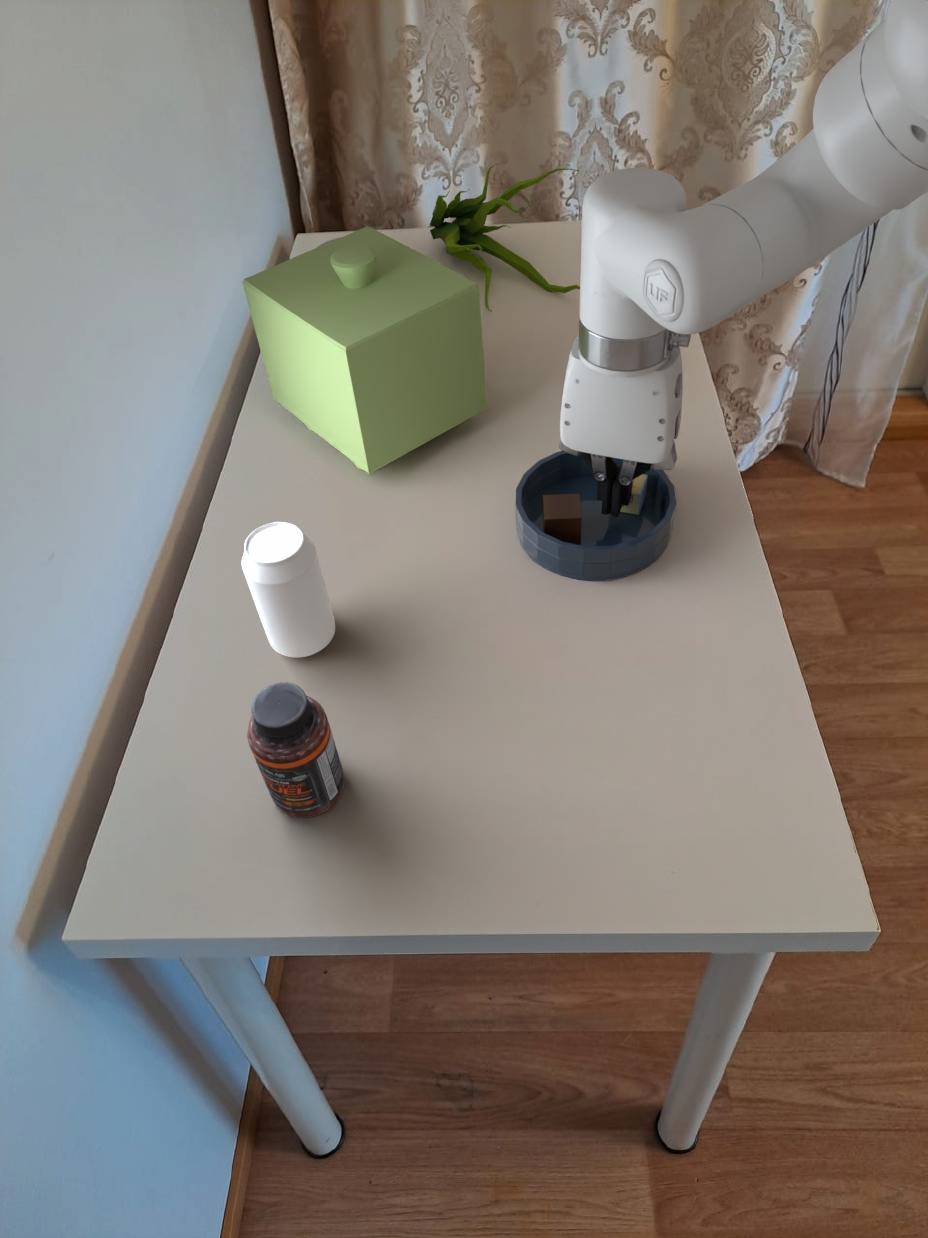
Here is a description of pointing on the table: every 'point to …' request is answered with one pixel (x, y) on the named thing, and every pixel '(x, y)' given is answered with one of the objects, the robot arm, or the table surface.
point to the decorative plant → (471, 226)
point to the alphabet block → (637, 495)
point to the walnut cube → (563, 517)
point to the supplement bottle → (295, 750)
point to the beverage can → (288, 589)
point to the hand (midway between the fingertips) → (613, 506)
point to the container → (370, 344)
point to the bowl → (593, 522)
